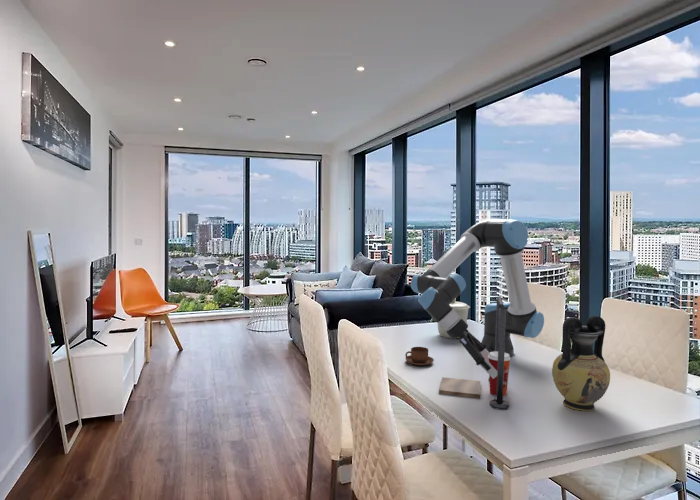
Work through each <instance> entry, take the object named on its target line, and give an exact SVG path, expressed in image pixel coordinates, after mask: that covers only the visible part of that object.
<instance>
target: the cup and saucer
mask: <svg viewBox="0 0 700 500" xmlns="http://www.w3.org/2000/svg"><path fill="white" fill-rule="evenodd" d="M408 354H410V355H408ZM434 360H435V359H434V358H433V357H431V356H429V348H427V347H424V346H414V347H411V348H410V351H407V352H405V361H406V362H407V363H408V364H411V365H415V366H428V365H430V364H432V363H433V362H434Z"/></svg>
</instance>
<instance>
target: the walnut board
mask: <svg viewBox="0 0 700 500" xmlns="http://www.w3.org/2000/svg"><path fill="white" fill-rule="evenodd" d="M438 394H441V395H442V394H443V395H449V396H458V397H459V396H460V397H468V398H477V399H481V381H480V380H473V379H464V378H453V377H444V376H442V377H441V380H440V386H439V389H438Z"/></svg>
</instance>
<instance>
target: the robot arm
mask: <svg viewBox="0 0 700 500" xmlns="http://www.w3.org/2000/svg"><path fill="white" fill-rule="evenodd" d="M528 239H529V232H528V228H527V227H526V225H525V224H524V223H523V221H520V220H518V219H511V218H509V219H484V220H481V221H479V222H477V223H475V224H474V225H472V226H470V227H469V228H468V229H466V230H465V231H464V232H463V233H462V234H461V235H460V238H459V240H457V242H456V243H455V244H453V246H451V247H450V248H449V249H448V250H447V251H446V252H445V253H444V254H443V255H442V256H441V257H440V258H439V259H438V260H437V261H436V262H435V263H434V264H433V265H431V266H430V267H429V268H428V269H427V270H426V271H425V272H424V273H423V274H421V273H420V274H415V275H413V276H412V278H411V280H410V288H411V290H412V291H413V292H414V293H417V294H420V296H419V297H418V298H417V301H418V303H419V304H420V306H421V307H422V308H423V310H425V311H426V312H427V313H428V314H429V315H430V317H431V318H433V320H434V321H435V322H436V323H437V322H438V324H439V325H438V324H437V327H438V326H439V327H442V328H443V329H444V330H447V334H448V335H449V336H450V337H451V338H450V339H452V340H455V339H459V343H460V344H461V345H462V346H463V347H464V348H465V350H466V352H468V354H469V356H471V359H473V360H474V362H475V365H476V366H480V367H481V368H482V369H483V370H484V371H485V372H486V373H487V374H488V376H489V375H490V376H491V377H492V378H493V379H494V378H495V377H496V376H497V370H496V369H495V368H494V367H493V366H492V365H491V364H490V363H489V358H488V355H489V353H490V352H495V339H496V308H497V302H494V303H493V302H492V303H488V304H486V305H485V307H484V312H483V313H484V319H483V320H484V321H483V322H484V327H483V328H484V329H483V336H482V339H481V341H480V340H479V339H478V338H476V337H475V336H474V335H473V334H472V333H471V332H470V331H469V330H468V328H469V324H468V322H467V323H466V322H465V321H464V320H463V319H460V316H459V315H458V314H457V312H456V311H455V310H454V309H453V308H452V307H451V306H450V305H449V304H450V303H451V302H452V301H453V300H454V299H457V298H458V297H459V296H460V295H461V294H462V292H463V291H465V289H466V287H467V283H466V280H465V278H464V277H463V276H462V275H460V274H458V273H456V272H455V273H454V271H455V270H456V269H457V268H458V267H460V265H461V264H462V263H464V261H466V259H468V258H469V256H470V255H471V254H473V253H476V252H478V251H479V250H480V249H481V248H487V247H489V248H490V247H491V248H493V249H494V253H495V255H497V256H498V257H499V259H500V262H501V267H502V272H503V276H504V280H505V286H506V291H507V296H508V300H509V302H503V305H504V309H506V323H505V352H504V353H508V354H509V355H510V357H511V356H513V355H514V354H515V353H514V351H515V349H514V345H513V342H512V341H513V340H511V339H512V338H511V335H517V336H519V337H524V338H530V339H534V338H537V337H538V336H539V335H541V332H542V331H543V328H544V324H545V316H544V314H543V313H542V312H541V311H537V307H536V303H534V302H532V301H531V296H530V295H531V294H530V291H529V284H528V280H527V276H526V271H525V264H524V260H523V256H522V253H523V252H524V250H525V247H526V246H527V244H528V241H529V240H528ZM457 337H459V338H457Z"/></svg>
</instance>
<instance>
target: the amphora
mask: <svg viewBox="0 0 700 500" xmlns="http://www.w3.org/2000/svg"><path fill="white" fill-rule="evenodd" d="M605 333H606V321H605V320H604V319H603V318H602V317H601V316H598V315H591V316H589V317H588V318H587V320H586V325H583V323H582V321H581V319H579V318H577V317H574V316H573V317H572V316H570V317H567V318H566V319H565V320H564V321H563V323H562V353H561V354H559V355H557V356H556V358H555V359H554V360H553V363H552V368H551V374H552V378H553V382H554V384H555V387H556V390H557V391H558V392H559V394H560V395H562V397H563V398H564V399H562V400H563V401H562V404H563V405H564V406H565V407H568V408H570V409H573V410H575V411H580V410H581V411H582V412H590V411H593V410H594V409H595V403H596V402H598V401H599V400H600V399H602V397H603V396H604V395H605V393H607V390H608V388H609V385H610V384H611V370H610V368H609V366H608V364H607V363H606V361H605V358H604V357H603V346H604V338H605ZM593 346H594V347H593ZM593 348H594V349H593Z"/></svg>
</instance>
